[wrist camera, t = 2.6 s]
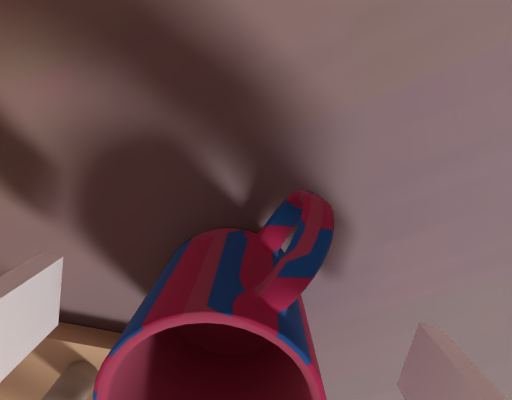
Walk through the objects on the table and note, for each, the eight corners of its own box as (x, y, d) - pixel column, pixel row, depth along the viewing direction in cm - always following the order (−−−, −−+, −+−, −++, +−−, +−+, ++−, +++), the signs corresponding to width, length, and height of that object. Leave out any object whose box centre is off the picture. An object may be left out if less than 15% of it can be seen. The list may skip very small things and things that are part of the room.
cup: (138, 302, 16) (49, 433, 9) (257, 141, 14) (255, 157, 7) (245, 370, 17) (235, 534, 10) (371, 228, 15) (463, 313, 8)
